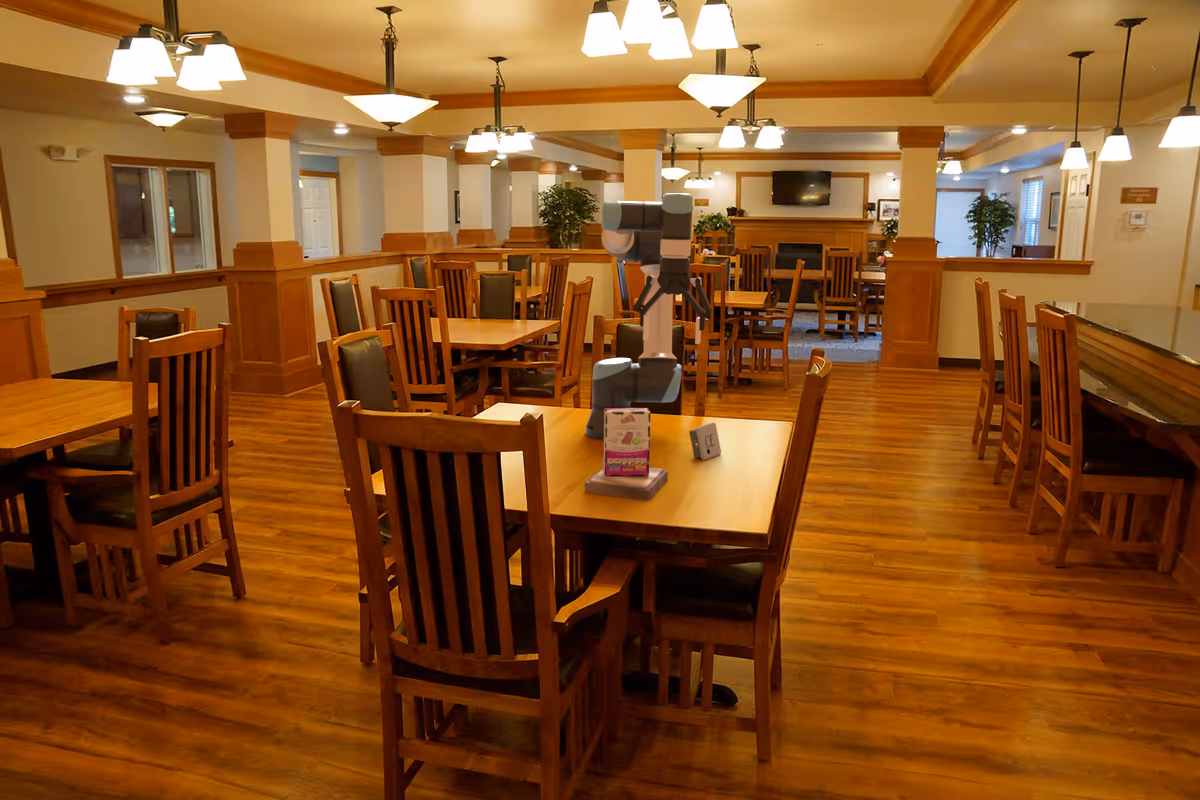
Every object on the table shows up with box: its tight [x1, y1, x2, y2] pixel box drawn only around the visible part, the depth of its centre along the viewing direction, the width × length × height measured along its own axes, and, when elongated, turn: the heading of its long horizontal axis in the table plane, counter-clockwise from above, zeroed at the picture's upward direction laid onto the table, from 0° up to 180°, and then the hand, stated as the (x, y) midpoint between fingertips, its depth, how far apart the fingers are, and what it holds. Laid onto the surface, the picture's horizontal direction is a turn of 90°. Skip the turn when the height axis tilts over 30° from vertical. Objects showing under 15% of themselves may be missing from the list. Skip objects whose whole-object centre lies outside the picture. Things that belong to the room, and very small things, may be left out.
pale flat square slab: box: [584, 466, 669, 501], centre depth 211 cm, size 18×16×3 cm
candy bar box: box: [603, 407, 651, 477], centre depth 210 cm, size 11×5×16 cm, turn 95°
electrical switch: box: [688, 422, 722, 461], centre depth 240 cm, size 9×5×9 cm, turn 141°
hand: (671, 341), depth 216 cm, fingers open, 13 cm apart
